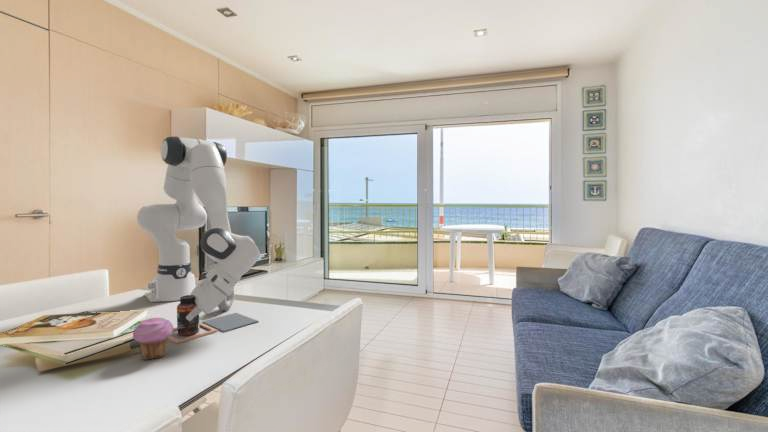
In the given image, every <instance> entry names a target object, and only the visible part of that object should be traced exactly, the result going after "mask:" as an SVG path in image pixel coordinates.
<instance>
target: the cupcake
mask: <svg viewBox="0 0 768 432" xmlns="http://www.w3.org/2000/svg"><path fill="white" fill-rule="evenodd" d="M173 328H174V325H173V323H172V322H171V321H170V320H169V319H166V318H163V317H151V318H147V319H146V320H143V321H142V322H140V324H138V325H137V326H136V327H135V328H134V329H133V331H132V338H133V340H134V341H136V342H138V344H139V345H138V346H139V348H140V349H139V350H140V351H139V352H140V357H141V359H142V360H146V361H148V360H151V359H157V358H162V357H164V356H165V355H166V348H167V343H168V341H169V339H168V337H169V336H172V334H173V333H174V331H173V330H174V329H173Z"/></svg>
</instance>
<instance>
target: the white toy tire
mask: <svg viewBox="0 0 768 432" xmlns="http://www.w3.org/2000/svg"><path fill="white" fill-rule="evenodd" d="M234 301H235V290H234V291H233V293H232V294H231V295H230V296H228V295H226V297H225V299H224V300H223V301H222V302H221V303H220V304H219V305H218V306H217V308H218V309H219V310H220V311H222V312H224V311H228V310H229V309H230V308H231V307H232V305H233V303H234Z"/></svg>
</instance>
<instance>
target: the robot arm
mask: <svg viewBox="0 0 768 432" xmlns="http://www.w3.org/2000/svg"><path fill="white" fill-rule="evenodd" d="M160 155H161V156H160V157H161V159H162V161H163V162H164V163H165V164H167V168H166V169H167V170H166V171H165V172H166V173H165V178H164V184H163V191H164V193H165V194H166V195H167V196H168V197H169V198H171V199H173V200H175V201H176V202H175V203H155V204H149V205H144V206H142V207H141V208H140V209H139V210H138V213H137V216H136V221H137V224H138V226H139V227H140V228H141V229H142V230H143V231H145V232H147V233H148V234H150V235H151V237H152V238H153V239H154V241H155V243H156V245H157V250H158V258H159V259H158V261H159V264H158V266H157V271H156V273H157V274H156V275H155V277H154V278H153V279H152V280H151V281H150V282H151V283H148V285H147V287H148V290H150V291H146V292H144V296H145V297H146V299H147V300H148V301H149V302H150V303H156V302H177V301H180V297H182V296H186V295H194V296H195V300H194V302H195V303H196V306H195V307H194V309H193V310H192V311H191V312H189V313H188V314H187V315H186V316H185V317H186V319H187V320H188V321H191V320H192V319H193V318H194V317H195V316H197V315H198V314H199V315H200V314H201V313H204V314H206V315H208V314H209V313H212V312H213V311H214V310H215V309H216V308H218V305H219V304H220V303H221V302H222V301H223V300H224V299H225V297H226V295H228V296H230V295H231V294H232V293H233V291H234V292H235V286H236V285H237V283H239V282H240V280H241V279H242V276H244V275H245V274H246V273H247V272H249V271H250V269H252V267H253V266H254V265H255V264H257V261H258V260H260V257H261V255H262V249H261V247H260V246H259V245H258V243H257V242H256V241H255V239H253V238H252V237H251V236H249V235H240V234H236V233H233V232H232V227H231V222H230V218H229V217H230V216H229V212H228V204H227V203H228V201H227V199H228V198H227V178H226V177H227V176H226V170H225V166H226V165H225V164H226V163H227V155H228V153H227V150H226V148H225V146H224V145H223V144H221V143H219V142H216V141H209V140H205V139H200V138H191V137H179V136H167V137H166V138H165V139H163V141H162V143H161V146H160ZM196 197H197V198H198V200H199V201H200V203H201V204H202V205H203V206H202V205H201V204H200V203H199V202H198V200H197V198H196ZM208 218H209V223H210V229H208V230H207V231H205V232H204V233H203V235H202V237H201V238H200V242H199V244H200V248H201V250H202V251H203V253H204V254H205V255H206V256H208V258H210V259H211V260H212V262H213V263H214V264H215V265H214V266H213V267H212V268H211V269H210V270H209V271H208V272H207V273H206V274H205V277H206V278H204V279H203V280H202V281H201V282H200V283H198V285H196V280H195V279H196V278H195V274H194V273H192V262H191V261H190V259H191V258H190V257H191V256H190V255H191V251H190V248H191V247H190V244H189V243H188V241H186V240H184V239H182V238H178V237H177V235H176V232H175V231H185V230H186V231H187V230H188V231H189V230H190V231H191V230H195V229H198V228H202V227H204V225H205V224H206V223H207V219H208Z"/></svg>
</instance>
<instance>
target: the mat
mask: <svg viewBox="0 0 768 432" xmlns="http://www.w3.org/2000/svg"><path fill="white" fill-rule="evenodd" d="M201 323H203V324H205V325H208V326H210V327H212V328H214V329H217V330H218V331H220V332H223V333H227V332H229V331H232V330H237V329H240V328H243V327H244V328H245V327H247V326H249V325H253V324H256V323H259V320H257V319H255V318H251V317H249V316H246V315H243V314H242V313H239V312H235V313H234V312H233V313H230V314H225V315H221V316H218V317H215V318H210V319H207V320H202V321H201Z"/></svg>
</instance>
